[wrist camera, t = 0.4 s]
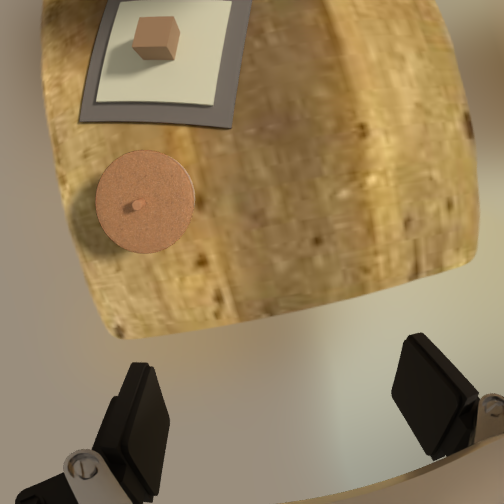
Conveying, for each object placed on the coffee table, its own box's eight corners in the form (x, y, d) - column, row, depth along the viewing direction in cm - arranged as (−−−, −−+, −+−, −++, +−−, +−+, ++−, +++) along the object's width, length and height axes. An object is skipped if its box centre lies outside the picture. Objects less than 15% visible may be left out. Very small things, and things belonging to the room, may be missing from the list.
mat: (111, -6, 27) (110, -7, 27) (253, -6, 29) (253, -8, 29) (81, 121, 33) (79, 121, 32) (231, 128, 35) (231, 128, 34)
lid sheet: (122, 4, 28) (108, -14, 22) (231, 3, 29) (232, -18, 24) (98, 102, 32) (78, 94, 26) (213, 105, 33) (210, 96, 28)
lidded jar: (121, 236, 38) (93, 258, 29) (117, 154, 35) (86, 154, 26) (201, 235, 39) (192, 259, 30) (200, 150, 36) (191, 146, 27)
